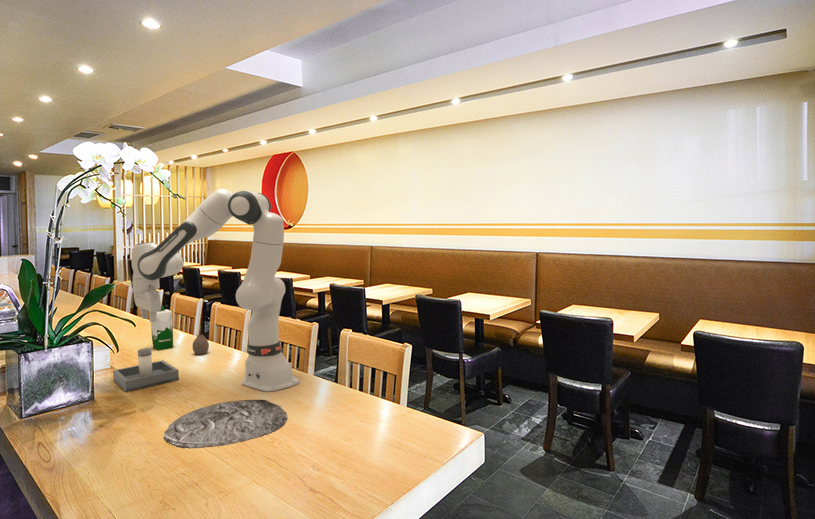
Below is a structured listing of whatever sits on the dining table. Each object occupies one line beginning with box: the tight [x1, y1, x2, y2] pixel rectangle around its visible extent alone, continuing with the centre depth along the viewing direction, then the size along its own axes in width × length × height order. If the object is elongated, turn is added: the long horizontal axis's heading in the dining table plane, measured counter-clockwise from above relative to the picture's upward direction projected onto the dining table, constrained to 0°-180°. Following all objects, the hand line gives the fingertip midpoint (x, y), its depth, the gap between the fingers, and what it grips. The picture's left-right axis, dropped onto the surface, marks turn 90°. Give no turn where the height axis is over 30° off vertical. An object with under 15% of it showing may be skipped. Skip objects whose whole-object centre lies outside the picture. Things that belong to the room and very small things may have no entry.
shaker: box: [137, 347, 153, 377], centre depth 182 cm, size 5×5×11 cm
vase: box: [192, 334, 210, 356], centre depth 218 cm, size 7×7×9 cm
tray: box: [112, 360, 180, 393], centre depth 182 cm, size 18×18×4 cm
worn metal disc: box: [163, 399, 289, 449], centre depth 144 cm, size 33×35×1 cm
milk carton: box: [150, 305, 174, 351], centre depth 229 cm, size 9×9×20 cm
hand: (148, 320), depth 182 cm, fingers open, 8 cm apart
